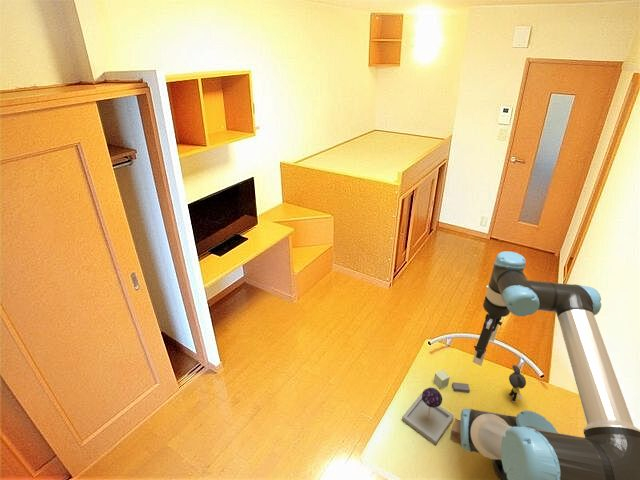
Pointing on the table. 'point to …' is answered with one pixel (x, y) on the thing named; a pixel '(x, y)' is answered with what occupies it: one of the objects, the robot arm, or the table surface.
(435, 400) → the lollipop
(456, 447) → the table surface
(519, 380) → the toy
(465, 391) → the rubber eraser
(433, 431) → the tray
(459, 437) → the walnut cube
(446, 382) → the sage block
